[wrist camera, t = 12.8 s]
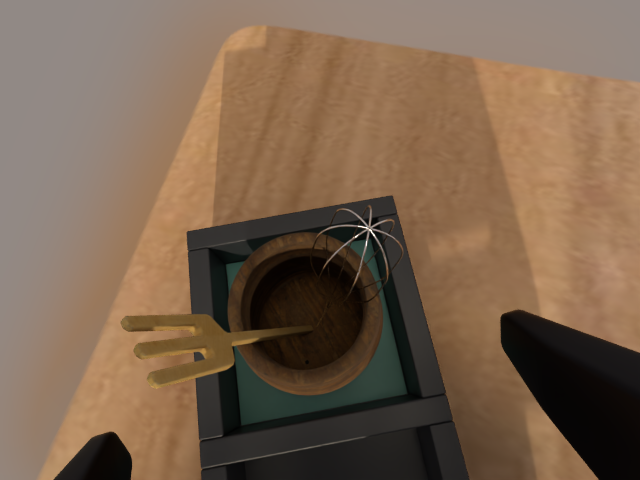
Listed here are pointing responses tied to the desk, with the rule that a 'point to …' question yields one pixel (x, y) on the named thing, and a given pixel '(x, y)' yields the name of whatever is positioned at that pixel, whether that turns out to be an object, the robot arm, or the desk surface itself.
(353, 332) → the utensil holder
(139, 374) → the desk surface
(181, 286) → the desk surface
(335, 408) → the organiser
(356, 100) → the desk surface
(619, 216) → the desk surface
